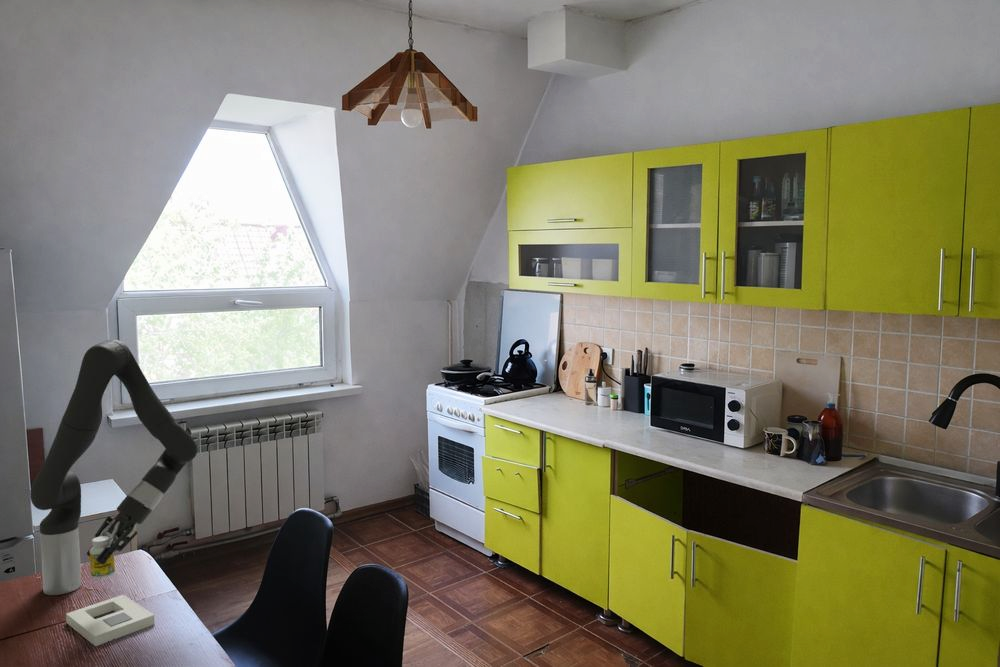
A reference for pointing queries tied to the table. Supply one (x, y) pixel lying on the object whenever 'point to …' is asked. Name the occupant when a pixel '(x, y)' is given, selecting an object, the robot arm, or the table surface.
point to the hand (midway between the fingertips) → (94, 559)
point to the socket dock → (109, 620)
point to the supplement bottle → (97, 568)
